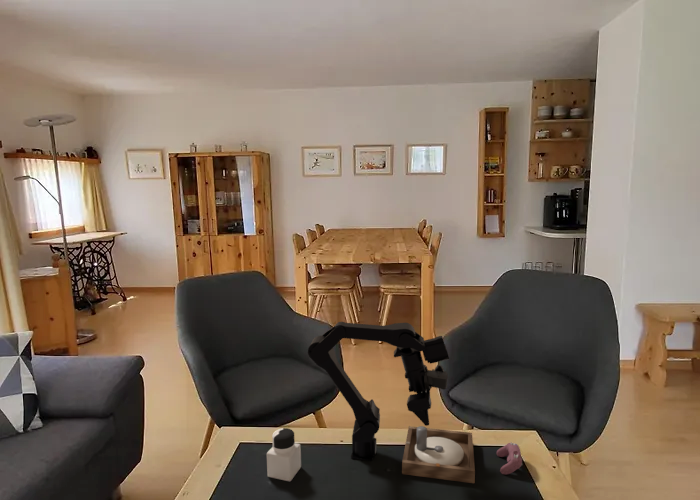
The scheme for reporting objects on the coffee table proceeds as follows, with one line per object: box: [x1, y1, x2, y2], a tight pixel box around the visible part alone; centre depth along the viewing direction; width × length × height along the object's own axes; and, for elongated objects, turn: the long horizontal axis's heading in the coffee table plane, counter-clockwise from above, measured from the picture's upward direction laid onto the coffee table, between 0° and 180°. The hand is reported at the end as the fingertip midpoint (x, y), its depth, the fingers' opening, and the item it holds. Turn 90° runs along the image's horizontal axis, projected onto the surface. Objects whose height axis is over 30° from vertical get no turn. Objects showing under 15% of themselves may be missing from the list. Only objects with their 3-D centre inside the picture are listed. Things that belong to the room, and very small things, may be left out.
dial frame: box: [401, 425, 476, 484], centre depth 132 cm, size 19×19×4 cm
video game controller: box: [496, 441, 523, 475], centre depth 128 cm, size 10×5×7 cm, turn 169°
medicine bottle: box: [266, 427, 302, 482], centre depth 126 cm, size 7×7×12 cm
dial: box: [415, 425, 464, 466], centre depth 132 cm, size 14×14×7 cm
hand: (428, 416), depth 131 cm, fingers open, 9 cm apart
